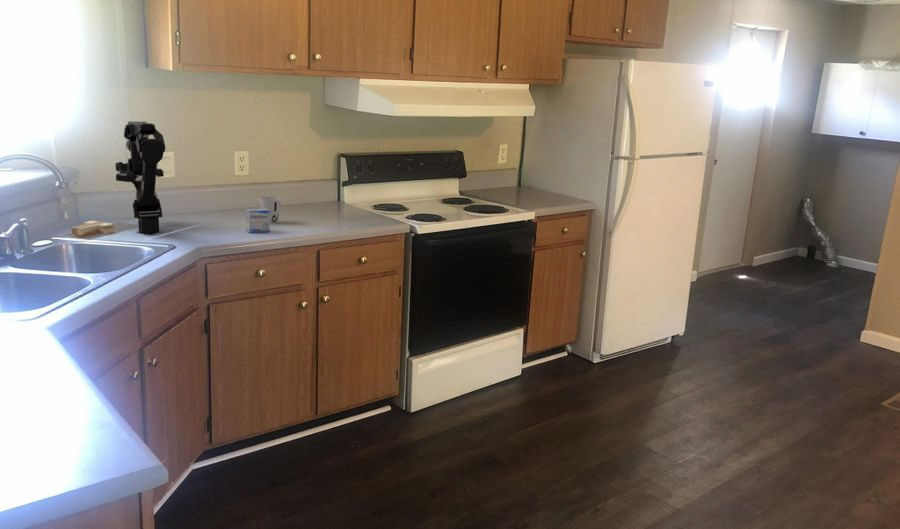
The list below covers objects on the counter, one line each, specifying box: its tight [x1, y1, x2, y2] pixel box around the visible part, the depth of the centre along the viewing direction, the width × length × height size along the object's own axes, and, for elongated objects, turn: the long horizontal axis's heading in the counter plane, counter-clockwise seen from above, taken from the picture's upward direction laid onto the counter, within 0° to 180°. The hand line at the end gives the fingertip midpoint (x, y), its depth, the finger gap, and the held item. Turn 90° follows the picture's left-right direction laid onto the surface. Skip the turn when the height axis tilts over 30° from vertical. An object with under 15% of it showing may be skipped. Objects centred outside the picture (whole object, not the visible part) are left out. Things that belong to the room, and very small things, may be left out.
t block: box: [70, 220, 114, 238], centre depth 255 cm, size 10×12×3 cm
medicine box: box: [245, 208, 271, 234], centre depth 274 cm, size 8×4×9 cm, turn 117°
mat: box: [62, 221, 139, 241], centre depth 261 cm, size 12×26×1 cm, turn 161°
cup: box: [259, 196, 281, 225], centre depth 290 cm, size 8×8×10 cm
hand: (141, 197), depth 270 cm, fingers closed
